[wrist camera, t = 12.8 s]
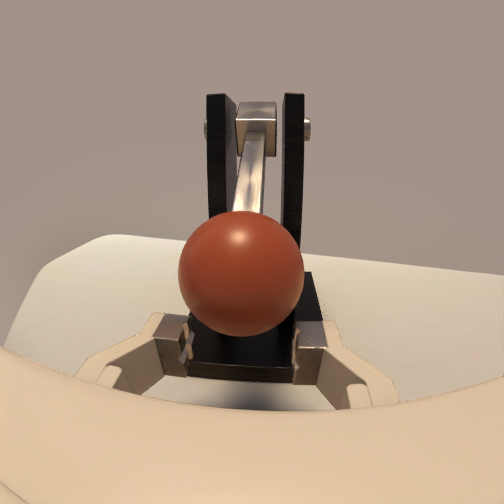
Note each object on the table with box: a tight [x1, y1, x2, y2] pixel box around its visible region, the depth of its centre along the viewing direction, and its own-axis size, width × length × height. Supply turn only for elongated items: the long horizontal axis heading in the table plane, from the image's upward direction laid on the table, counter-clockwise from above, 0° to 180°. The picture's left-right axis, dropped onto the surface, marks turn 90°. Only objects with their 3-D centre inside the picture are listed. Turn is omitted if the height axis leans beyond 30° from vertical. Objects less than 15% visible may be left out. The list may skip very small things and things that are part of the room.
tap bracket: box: [187, 93, 323, 382], centre depth 17 cm, size 12×9×15 cm
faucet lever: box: [178, 102, 304, 337], centre depth 12 cm, size 13×4×4 cm, turn 175°
